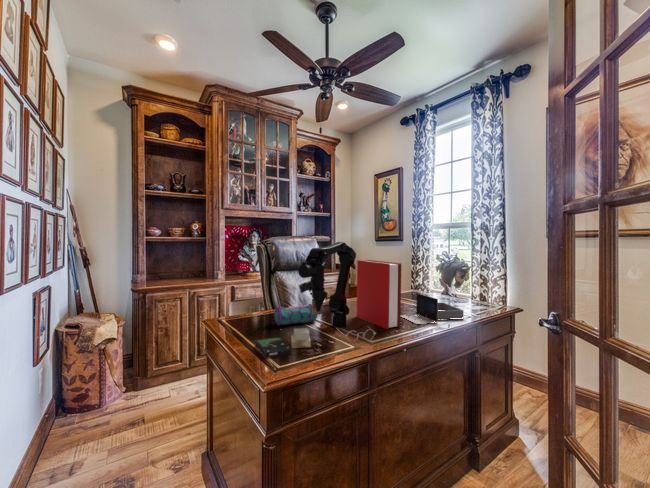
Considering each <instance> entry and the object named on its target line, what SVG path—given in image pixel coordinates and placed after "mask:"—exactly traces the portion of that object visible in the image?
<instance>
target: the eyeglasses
mask: <svg viewBox="0 0 650 488" xmlns="http://www.w3.org/2000/svg"><path fill="white" fill-rule="evenodd" d="M364 326H367V327H368V328H369V329H367V330H366V331H365V332H361V334H362V337H363V339H364V340H367V338H366V337H365V336H366V333H367V332H368V331H370V330H371V331H372V332H373V336H372V337H371V338H370V340H372V339H373V338H374V337H375V335H376V334H377V332H376V331H374V330H373V329H372V328H371V327H370V326H369V325H368V324H366V323H363V324H362V325H361V326H360V327H359V328H360V329H362V328H363V327H364ZM333 330H338V332H340V334H341V335H343V337H346V338H347V340H348V341H349V342H351V340H350V339H349V337H348V335H349V333H351V332H352V330H350V331H349V333H347V334H344V333H343V332H342V331H340V330H339V329H338V327H335V326H333ZM354 332H355V333H356V338H355V339H354V340H353V341H354V342H357V340H358V339H359V336H360V332H357V331H356V330H354Z"/></svg>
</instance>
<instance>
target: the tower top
mask: <svg viewBox="0 0 650 488" xmlns="http://www.w3.org/2000/svg"><path fill="white" fill-rule="evenodd" d="M293 335H294V341H297V340H309V337H310V330H309V327H308V328H307V327H305V328H303V327H302V328H293Z"/></svg>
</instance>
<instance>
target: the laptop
mask: <svg viewBox="0 0 650 488" xmlns="http://www.w3.org/2000/svg"><path fill="white" fill-rule="evenodd" d="M438 303H439V299H438V298H435V297H433V296H428V295H425V294H421V293H419V292H418V293H416V308H415V309H416V313H415V314H417V316H418V315H419V316H418V317H416V316H415V317H414V316H413V317H409V318H408V316H406V315H407V314H401V317H402V318H401V317H400V318H401V319H403V318H405V319H404V320H406V319H407V320H406V321H408V320H409V321H408V322H410V321H411V322H410V323H412V322H413V323H412V324H415V325H417V324H421V325H428V324H427V323H431V322H434V321H435V322H437V323H438V321H439V320H438ZM415 319H416V320H415ZM421 319H422V320H421ZM435 322H434V323H435ZM435 324H436V323H435Z"/></svg>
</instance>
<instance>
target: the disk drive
mask: <svg viewBox="0 0 650 488" xmlns="http://www.w3.org/2000/svg"><path fill="white" fill-rule="evenodd" d="M255 344H256V345H255V346H256V347H257V349H258V348H259V349H260V350H259V349H258V350H259V352H260V353H261V352H262V353H261V355H262V356H263V355H264V356H263V357H264V358H267V359H269V358H268V357H273V358H277V357H276V356H279V357H284V355H285V356H291V355H293V348H292V346H290V345H289V344H288V343H287V342H286V341H284V339H283V338H282V337H281V336H278V337H271V338H266V339H261V340H259V339H258V340H256V343H255Z"/></svg>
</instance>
